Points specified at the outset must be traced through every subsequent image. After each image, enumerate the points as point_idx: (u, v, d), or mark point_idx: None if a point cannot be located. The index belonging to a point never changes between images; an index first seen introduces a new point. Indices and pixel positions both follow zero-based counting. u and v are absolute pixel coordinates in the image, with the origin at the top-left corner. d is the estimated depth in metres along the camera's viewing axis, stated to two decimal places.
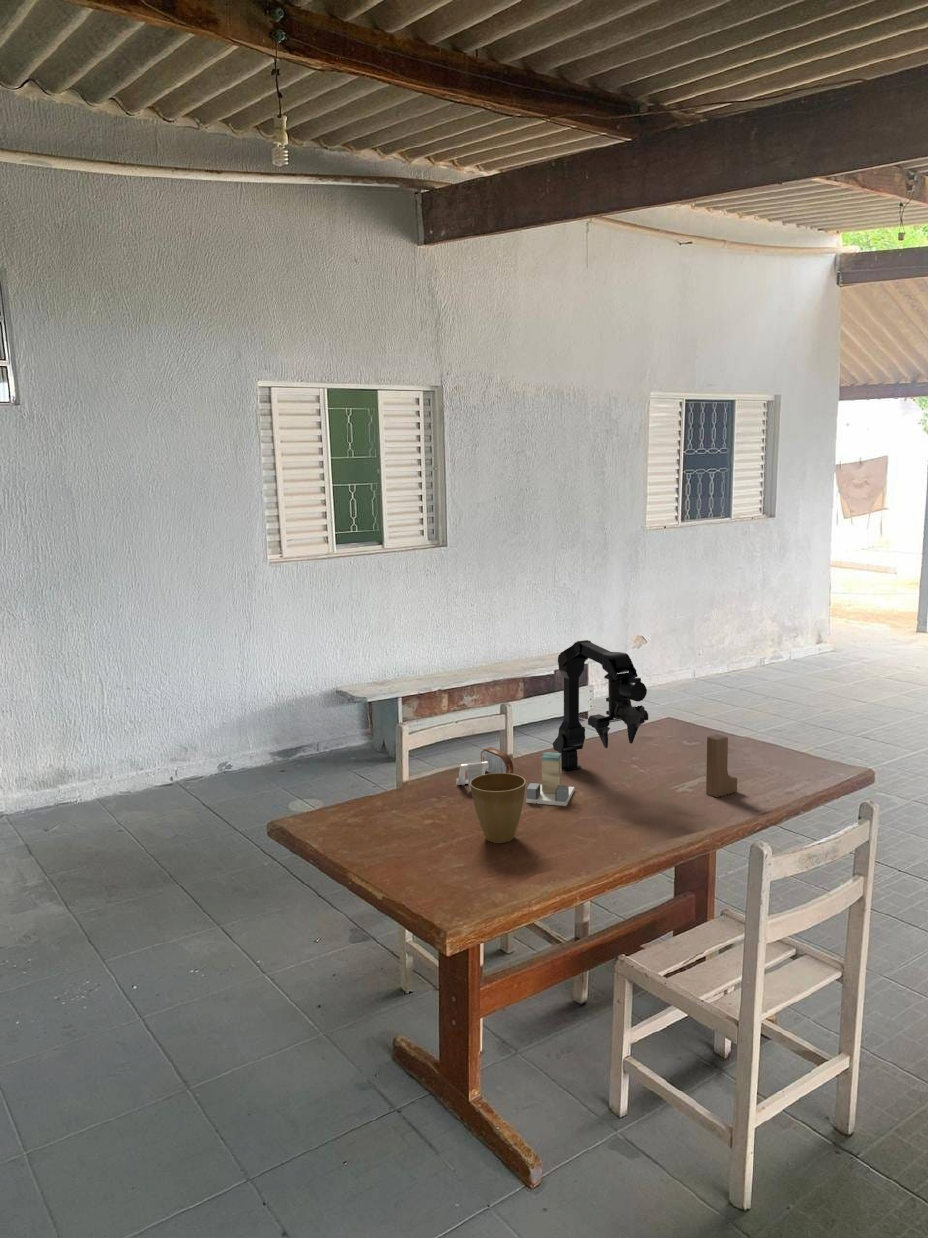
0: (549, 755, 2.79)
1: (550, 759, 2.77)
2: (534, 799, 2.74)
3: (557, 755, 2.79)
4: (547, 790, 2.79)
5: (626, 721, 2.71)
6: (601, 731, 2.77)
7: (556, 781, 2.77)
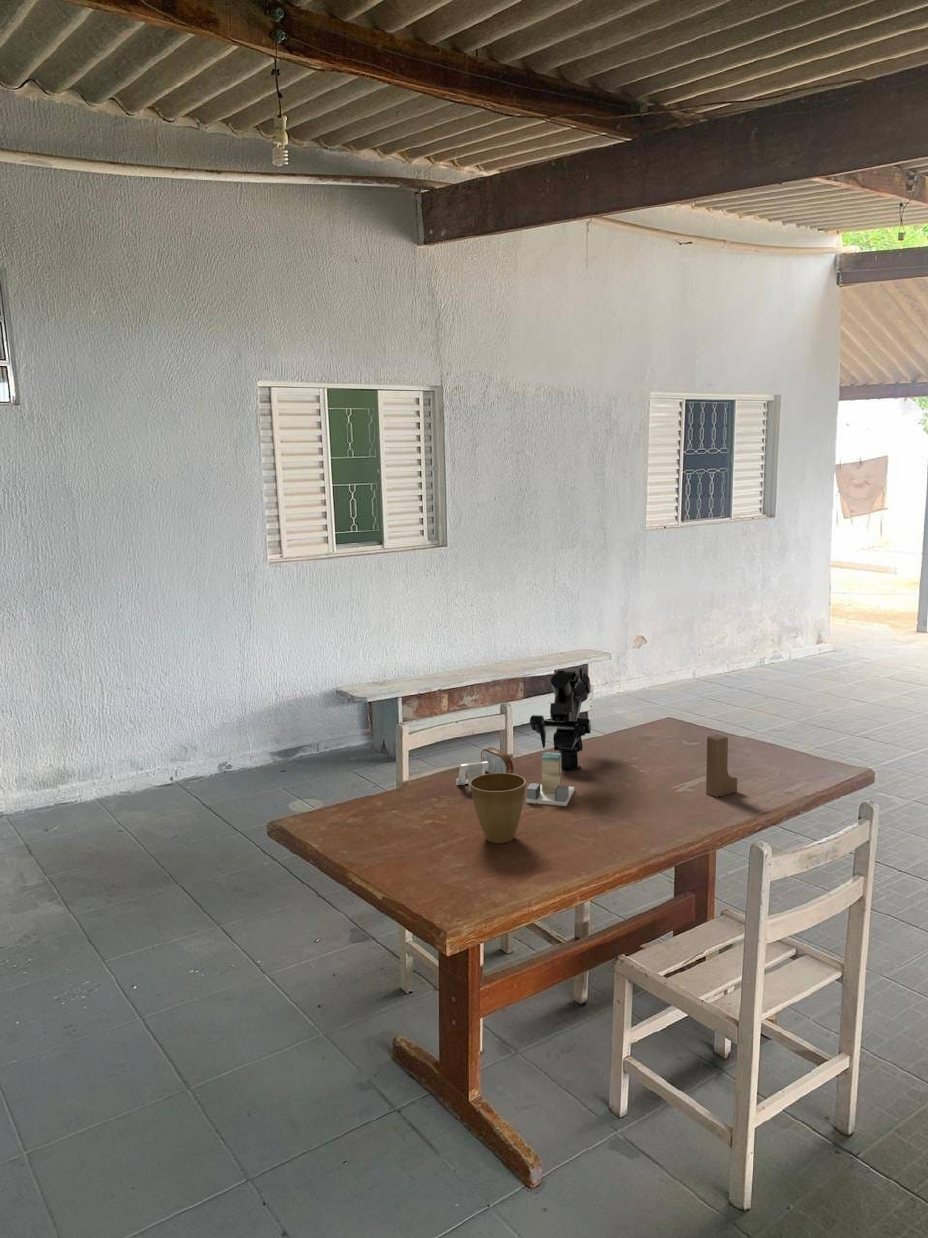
0: (549, 755, 2.79)
1: (550, 759, 2.77)
2: (534, 799, 2.74)
3: (557, 755, 2.79)
4: (547, 790, 2.79)
5: (550, 710, 2.86)
6: None
7: (556, 781, 2.77)
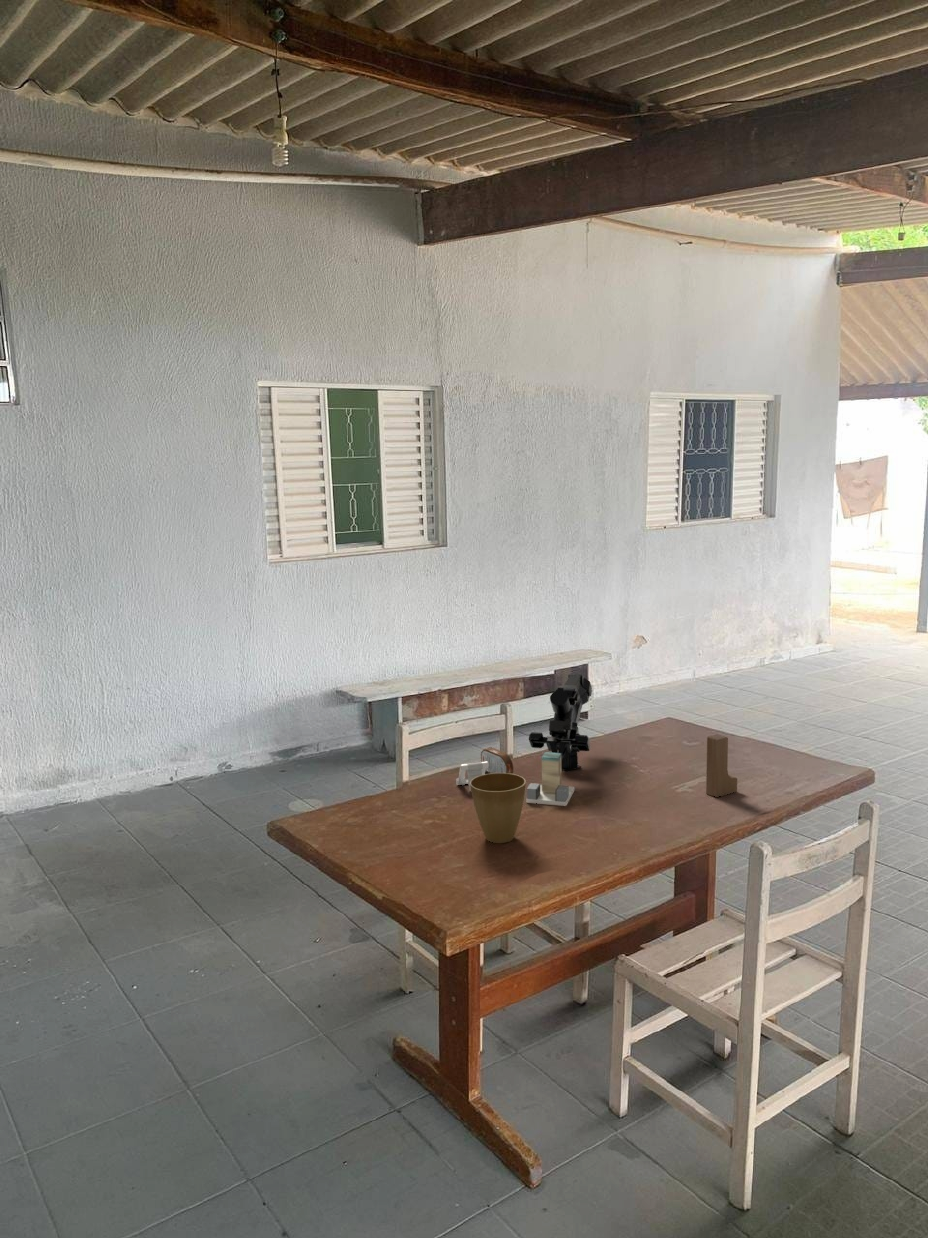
0: (549, 755, 2.79)
1: (550, 759, 2.77)
2: (534, 799, 2.74)
3: (557, 755, 2.79)
4: (547, 790, 2.79)
5: (549, 727, 2.87)
6: None
7: (556, 781, 2.77)
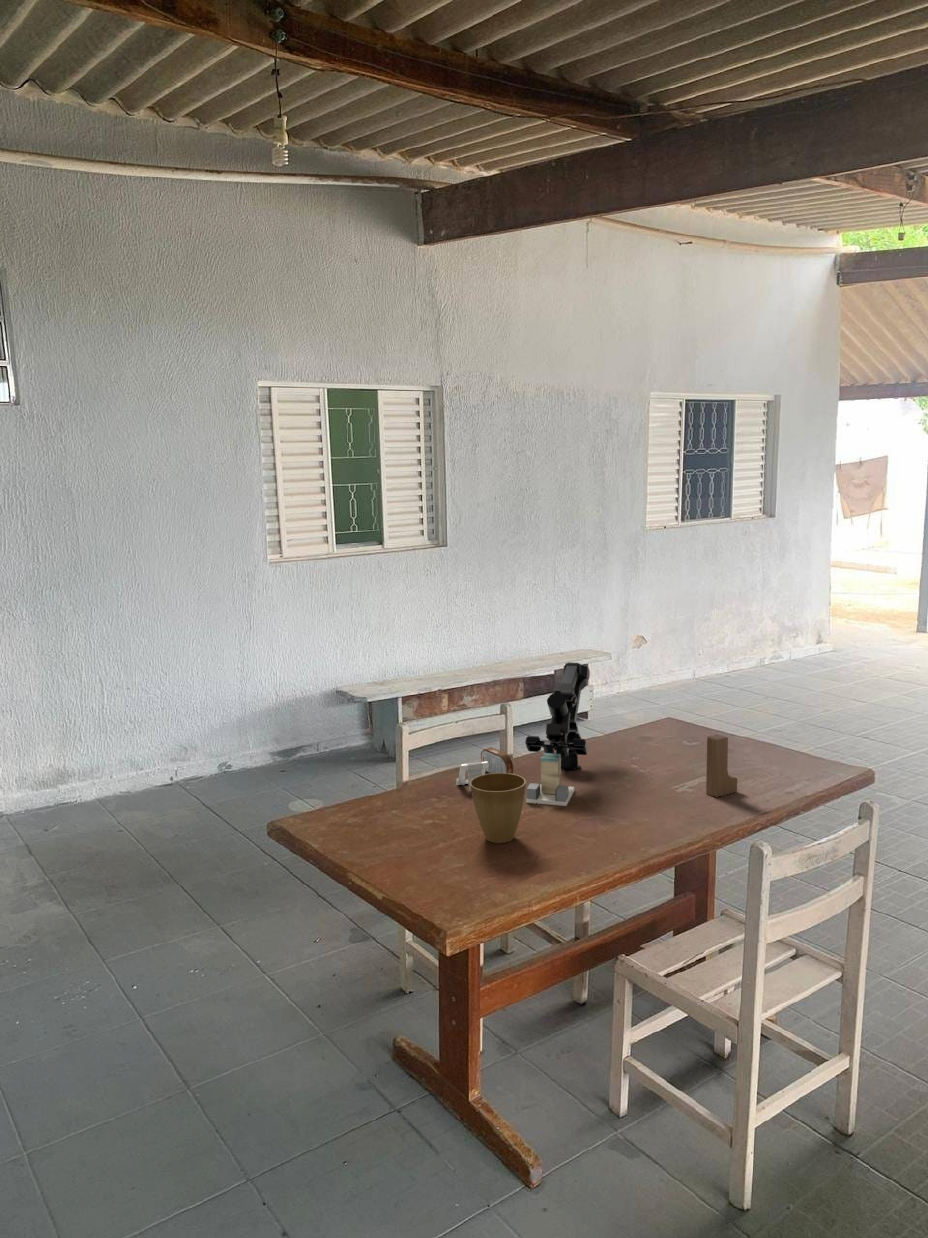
0: (549, 756, 2.78)
1: (549, 760, 2.76)
2: (534, 799, 2.74)
3: (556, 756, 2.78)
4: (546, 791, 2.78)
5: (546, 731, 2.82)
6: None
7: (555, 782, 2.76)
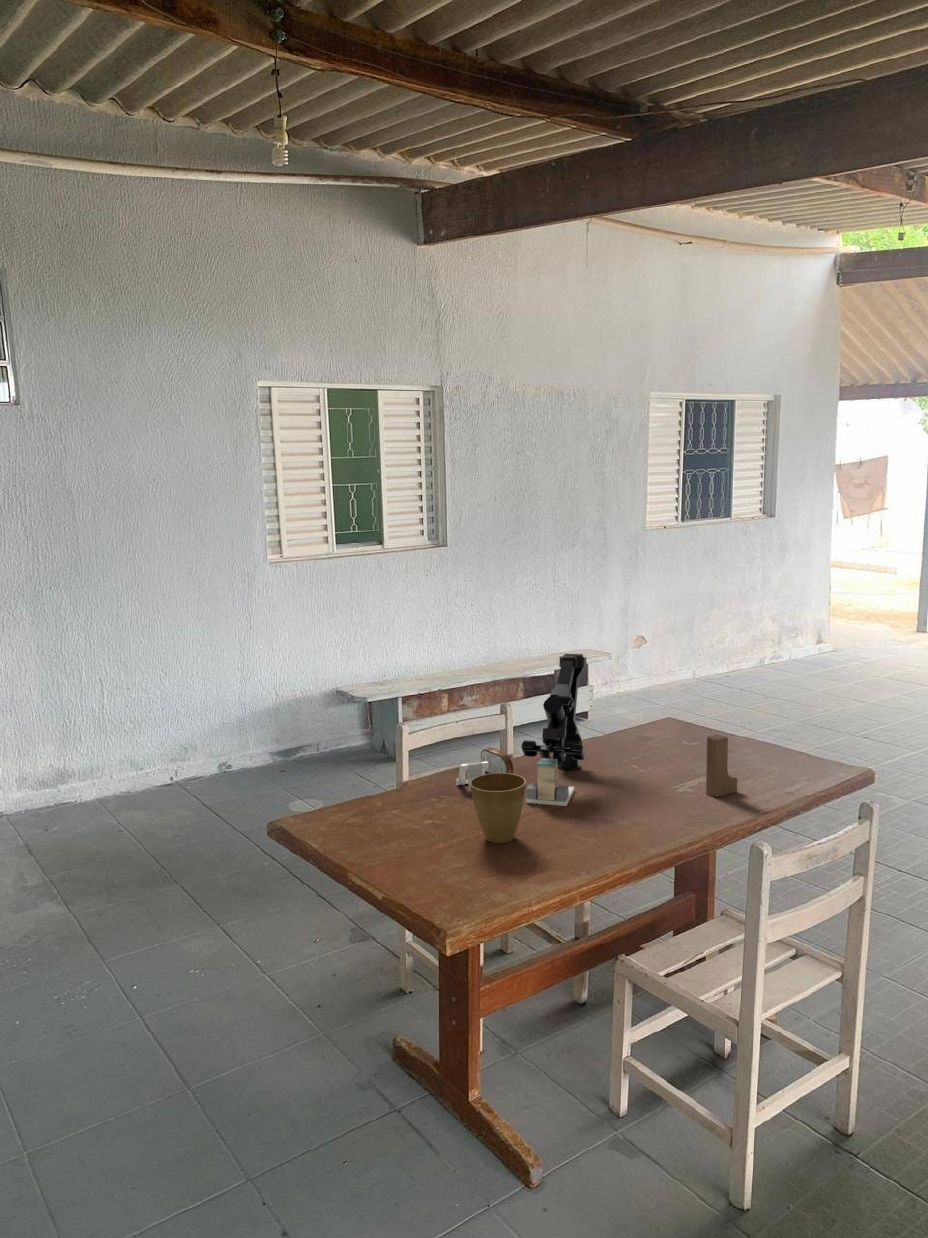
0: (545, 761, 2.73)
1: (546, 765, 2.71)
2: (534, 799, 2.74)
3: (553, 761, 2.73)
4: (543, 797, 2.73)
5: (542, 735, 2.77)
6: None
7: (552, 788, 2.72)
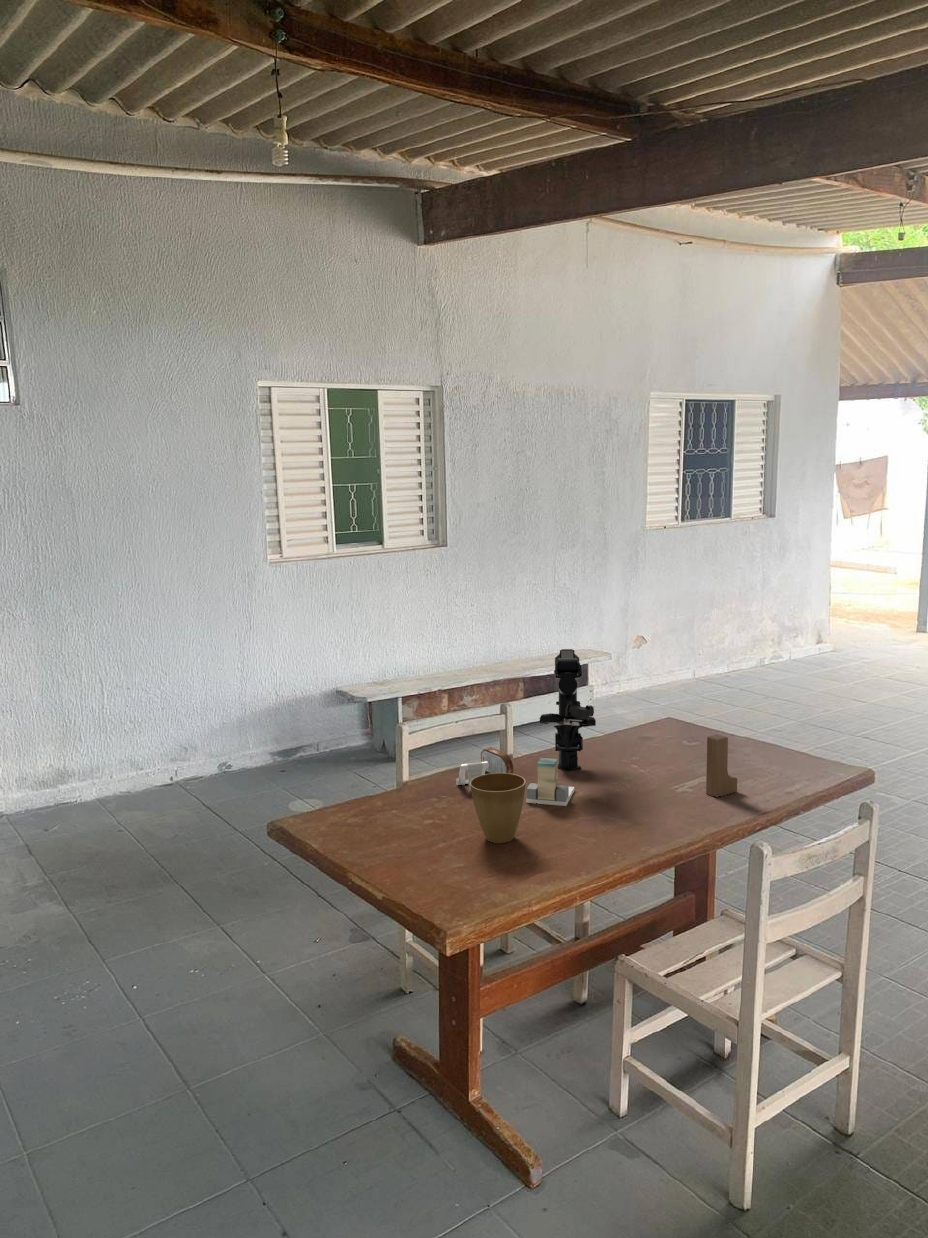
0: (545, 761, 2.73)
1: (546, 765, 2.71)
2: (534, 799, 2.74)
3: (553, 761, 2.73)
4: (543, 797, 2.73)
5: (577, 716, 2.82)
6: (563, 731, 2.88)
7: (552, 788, 2.72)
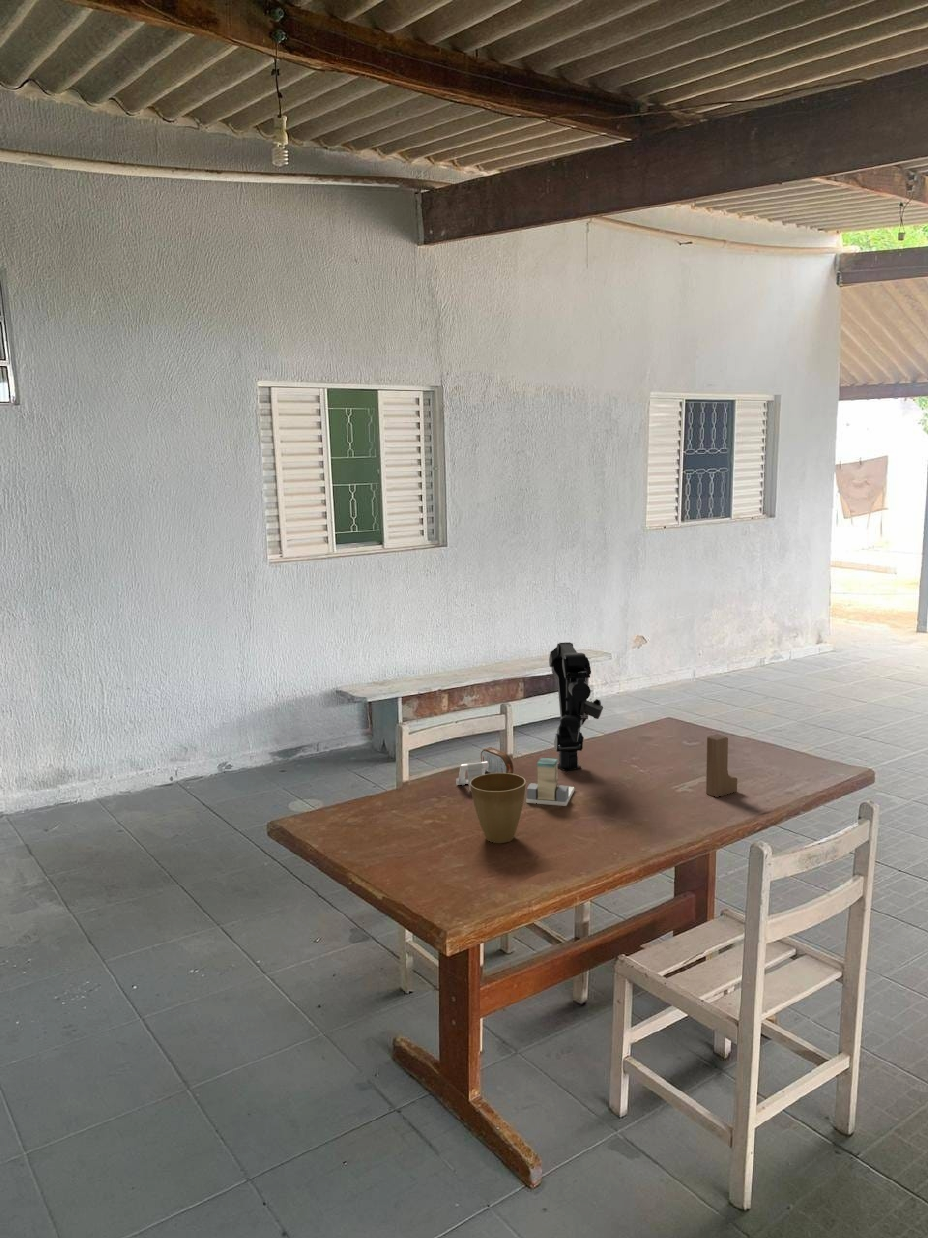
0: (545, 761, 2.73)
1: (546, 765, 2.71)
2: (534, 799, 2.74)
3: (553, 761, 2.73)
4: (543, 797, 2.73)
5: (596, 716, 2.85)
6: (572, 727, 2.88)
7: (552, 788, 2.72)
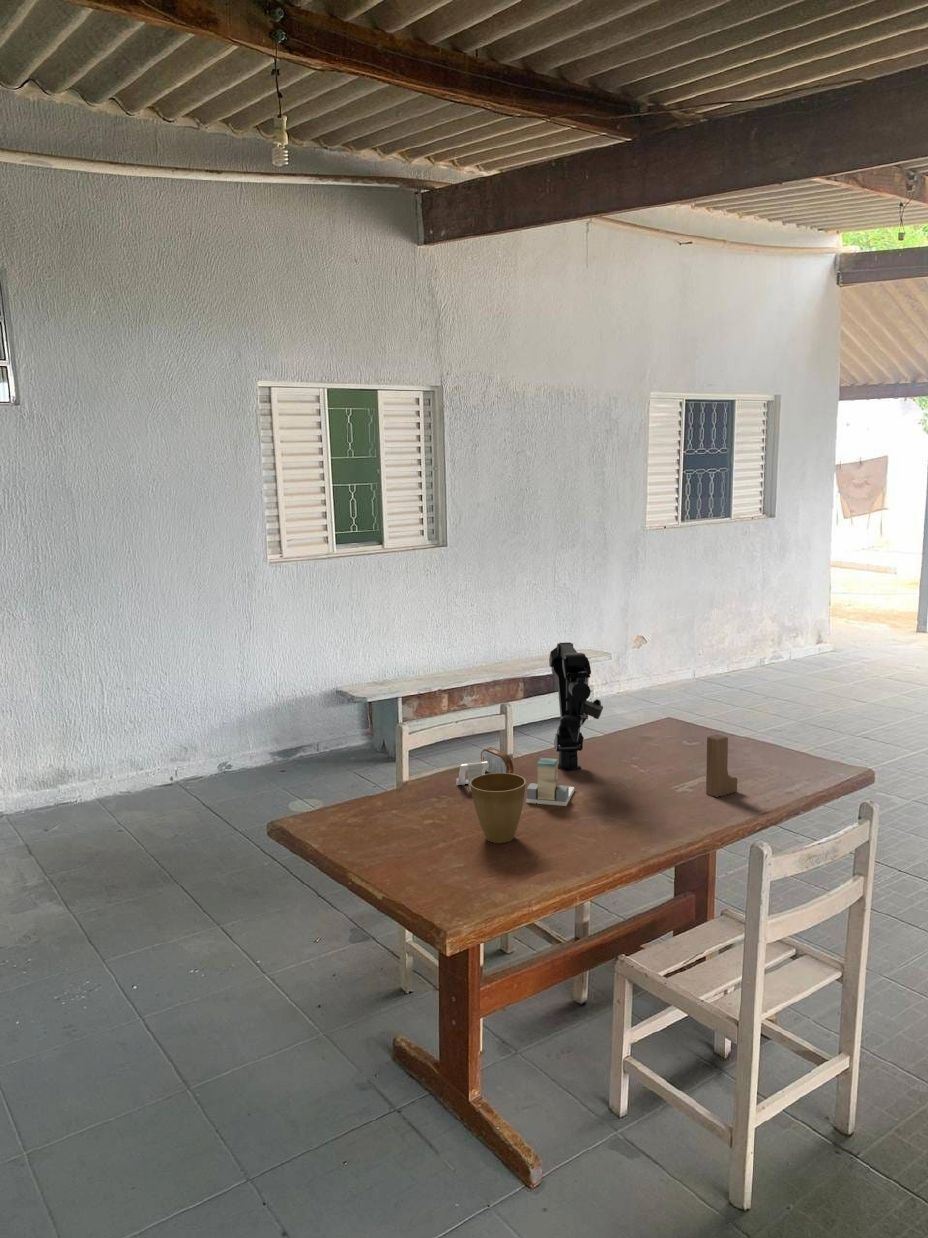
0: (545, 761, 2.73)
1: (546, 765, 2.71)
2: (534, 799, 2.74)
3: (553, 761, 2.73)
4: (543, 797, 2.73)
5: (596, 716, 2.85)
6: (572, 727, 2.88)
7: (552, 788, 2.72)
